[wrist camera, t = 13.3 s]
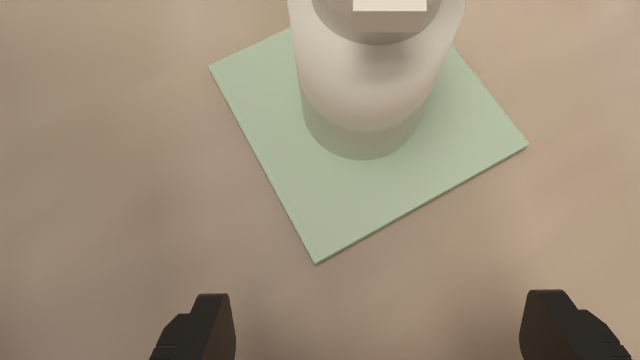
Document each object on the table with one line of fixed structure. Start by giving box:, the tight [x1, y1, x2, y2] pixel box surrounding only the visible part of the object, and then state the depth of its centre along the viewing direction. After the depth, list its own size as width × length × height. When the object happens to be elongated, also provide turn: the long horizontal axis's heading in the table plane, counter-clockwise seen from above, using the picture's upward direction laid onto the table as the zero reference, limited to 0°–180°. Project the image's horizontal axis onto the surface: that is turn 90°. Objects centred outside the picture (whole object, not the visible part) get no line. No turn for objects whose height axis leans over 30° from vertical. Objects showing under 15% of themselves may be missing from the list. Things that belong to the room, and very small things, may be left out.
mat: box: [208, 27, 529, 265], centre depth 22 cm, size 12×12×1 cm
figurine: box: [287, 0, 466, 160], centre depth 17 cm, size 8×6×11 cm
